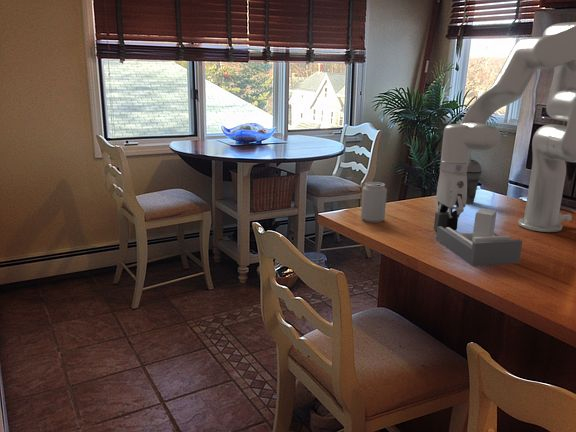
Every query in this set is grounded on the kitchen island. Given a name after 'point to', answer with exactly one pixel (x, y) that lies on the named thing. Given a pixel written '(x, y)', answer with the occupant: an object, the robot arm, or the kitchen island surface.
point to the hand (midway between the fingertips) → (446, 226)
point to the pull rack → (442, 221)
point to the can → (373, 202)
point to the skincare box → (484, 223)
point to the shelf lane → (481, 249)
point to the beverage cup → (472, 178)
